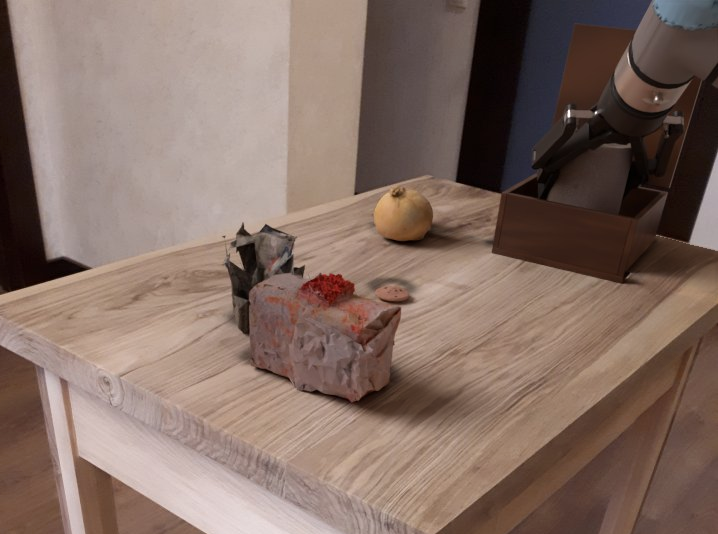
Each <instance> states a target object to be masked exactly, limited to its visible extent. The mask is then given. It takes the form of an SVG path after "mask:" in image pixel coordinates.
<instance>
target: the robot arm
mask: <svg viewBox="0 0 718 534" xmlns="http://www.w3.org/2000/svg"><path fill="white" fill-rule="evenodd" d="M635 30H636V32H635V34H634V36H633V38H632V40H631V41H630V43H629V45H628V47H627V49H626V50H625V52H624V54H623V56H622V58H621V59H620V61H619V63H618V65H617V67H616V69H615V71H614V72H613V74H612V76H611V78H610V79H609V81H608V83H607V85H606V87H605V89H604V90H603V93H602V95H601V97H600V100H599V102H598V103H597V104H595V105H594V106H592V107H591V108H590V110H576V104H573V103H571V104H568V105H567V106H566V108H565V111H564V113H563V116H562V117H561V118H560V119H559V120H558V121H557V123H556V124H555V125H554V126H553V127H552V126H551V127H550V129H548V131H547V132H546V133H545V134H544V135H543V136H542V137H541V138H540V139H539V141H537V142H536V144H535V145H534V146H533V147H532V148H531V169H532V170H536V171H537V172H536V173H537V182H538V199H543V200H545V198H546V196H547V194H548V192H549V190H550V188H551V187H552V185H553V183H554V182H555V180H556V178H557V176H558V169H559V168H560V167H562V166H563V165H565V164H567V163H568V162H570V161H571V160H573V159H575V158H576V157H578V156H579V155H581V154H583V153H584V152H586V151H587V150H589V149H590V150H595V149H597V148H598V147H600V146H601V145H603V144H613V143H616V144H620V145H627V144H629V143H630V144H631V149H632V153H633V154H634V159H635V161H632V163H631V167H630V171H629V175H628V178H627V183H626V186H625V190H624V194H623V198H622V201H623V199H624V198H625V197H626V195H627V194H628V193H629V191H630V190H631V189H636V188H638V187H640V186H645V185H646V184H647V183H648V182H649V175H653V174H655V177H663V176H664V175H665V173H666V170H667V167H668V163H669V160H670V157H671V154H672V151H673V147H674V144H675V142H676V141H677V139H678V138H679V137H680V136H681V135H682V134H683V133H684V118H683V111H681V110H678V111H675V112H674V113H673V114H672V115H671V116H667V115H668V114H669V113H670V111H671V110H672V108H673V107H674V105H675V103H676V102H677V100H678V99H679V98H680V96H681V95H682V93H683V92H684V90H685V89H686V88H687V86H688V85H689V83H690V82H691V80H692V79H693V78H694V77H695V76H697V77H698V78H700V79H702V82H704V83H706V84H708V85H710V86H713V87H715V88H716V89H718V0H651V1H650V4H649V6H648V7H647V10H646V11H645V13H644V15H643V17H642V19H641V20H640V23H639V24H638V27H637V29H635ZM584 123H585V124H584ZM583 124H584V126H583V127H582V128H581V129H579V127H581V125H583ZM660 128H661V137H660V140H659V144H658V147H657V151H656V155H655V159H649V158H648V153H647V147H646V142H645V137H646V136H648V135H650V134H652V133H654V132H656V131H658V130H659V129H660ZM574 132H575V133H574Z"/></svg>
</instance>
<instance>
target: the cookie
mask: <svg viewBox="0 0 718 534" xmlns="http://www.w3.org/2000/svg"><path fill="white" fill-rule="evenodd" d="M374 294H375V296H376V297H377V298H379V299H381V300H384V301H388V302H403V301H407V299H409V298H410V296H411V294H410V292H409V291H408V290H407V289H404V288H403V287H400V286H395V285H384V286H380V287H378V288H377V289H375V291H374Z"/></svg>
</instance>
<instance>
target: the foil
mask: <svg viewBox="0 0 718 534" xmlns="http://www.w3.org/2000/svg"><path fill="white" fill-rule="evenodd" d="M221 237H222V238H223V239H225V238H226V235H222V236H221ZM296 239H298V236H297V235H296V236H294V235H292V234H289V233H286V232H284V231H282V230H279V229H277V228H274V227H272V226H270V225H269V224H267V223H265V224H264V226H263V227H262V228H261V229H260V230H259V231H257V232H255V233H252V234H251V233H250V232H248V231H247V229H245V222H243V221H242V223H241V225H240V228H239V229H238V231H237V232H236V234H235V239H234V240H233V241H231V242H230V245H229V247H228V249H227V248H225V257H224V260H223V263H222V266H223V267H225V269H226V270H227V273H228V276H229V279H230V280H229V281H230V287H231V288H230V289H231V303H232V311H233V314H234V317H235V321H236V325H237V328H238V330H239V331H240V332H242V334H247V333H248V332H249V329H250V323H249V305H250V301H249V293H250V291H251V290H252V288H253V287H254V286H255V285H257V284H259V283H260V282H262V281H264V280H267V279H268V278H270V277H271V276H273V275H278V274H286V273H291V274H293V275H296V276H298V277H300V278H304V274H305V270H306V264H304V265H302V266H300V267H297V266H296V267H295V261H294V260H295V254H294V253H293V251H294V246H295V242H296ZM224 244H225V245H224V246H227V243H226V241H224ZM234 248H236V249H235V254H237V253H238V254H239V256H238V255H236V256H237V258H239V257H240V260H241V261H240V263H239V264H240V266H241V267H240V266H238V265H237V264H235V263H234V262H232V261H231V260H230V258H231V253H230V252H229V251H230V249H234ZM308 278H309V279H311V277H310V274H309V273H308Z"/></svg>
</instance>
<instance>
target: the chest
mask: <svg viewBox="0 0 718 534" xmlns="http://www.w3.org/2000/svg"><path fill="white" fill-rule="evenodd" d="M668 194H669V192H668V191H666V190H660V189H655V188H649V187H648V188H647V187H644V186H643V187H642V186H639V187H638V188H636V189H631V190H630V191H629V193H628V194H627V195H626V197H625V198H624V199H623V201H622V202H621V206H620V210H619V214H618V215H617V214H612V213H607V212H602V211H597V210H592V209H588V208H583V207H578V206H573V205H568V204H563V203H558V202H553V201H548V200H547V196H546V198H545V200H543V199H538V182H537V172H536V173H534V174H532V175H531V176H529V177H527V178H525V179H524V180H522V181H519V182H518V183H516V184H514V185H513V186H510V187H509V188H507V189H505V190H504V191H502V192H501V194H500V199H499V206H498V210H497V211H498V212H497V217H496V223H495V230H494V235H493V242H492V248H491V253H492V254H496V255H500V256H503V257H504V256H505V257H509V258H513V259H518V260H523V261H525V262H530V263H534V264H539V265H542V266H546V267H550V268H555V269H559V270H564V271H568V272H573V273H577V274H581V275H585V276H590V277H592V278H593V277H594V278H598V279H602V280H607V281H610V282H615V283H619V284H622V283H623V282H624V281H625V280H626V279H627V277H629V276H630V274H631V273H632V272H631V271H629V270H628V269H630V267H632V265H633V264H634V263H635V262H636V261H637V260H638V259H639V258H640V256H642V254H643V253H644V252H645V251H646V250H647V249H648V248H649V246H651V244H653V242H654V241H655V240H656V235H657V232H658V229H659V225H660V222H661V219H662V216H663V211H664V208H665V205H666V202H667V201H666V200H667V198H668ZM547 195H548V194H547Z"/></svg>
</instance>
